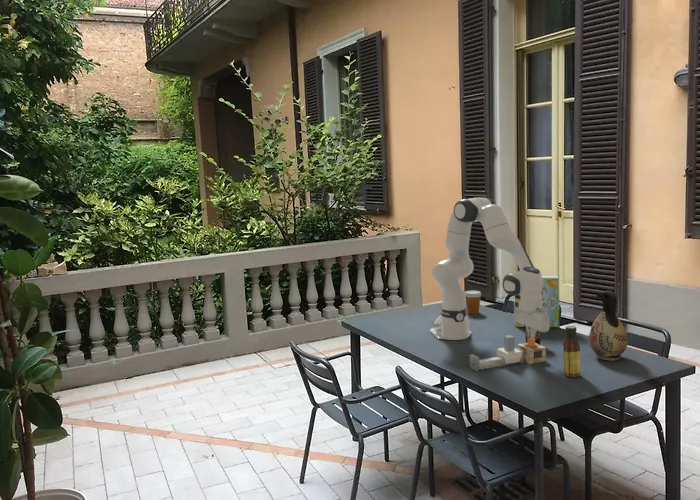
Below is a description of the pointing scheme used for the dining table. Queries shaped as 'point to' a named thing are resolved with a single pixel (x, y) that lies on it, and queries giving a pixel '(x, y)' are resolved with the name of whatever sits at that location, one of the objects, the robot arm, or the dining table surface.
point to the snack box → (548, 299)
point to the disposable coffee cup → (472, 301)
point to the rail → (491, 361)
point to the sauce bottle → (571, 353)
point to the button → (530, 342)
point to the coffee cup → (537, 336)
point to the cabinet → (533, 353)
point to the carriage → (509, 350)
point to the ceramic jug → (608, 330)
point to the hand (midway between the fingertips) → (531, 337)
